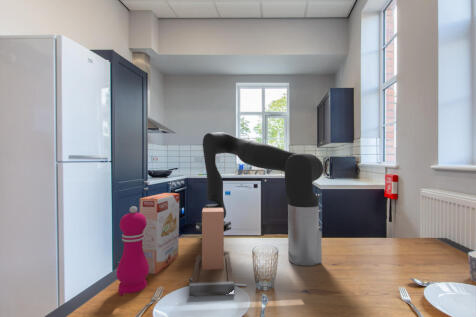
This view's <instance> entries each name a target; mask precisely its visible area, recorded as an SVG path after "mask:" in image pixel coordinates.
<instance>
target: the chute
mask: <svg viewBox="0 0 476 317" xmlns="http://www.w3.org/2000/svg"><path fill="white" fill-rule="evenodd" d="M224 255H225V256H224V269H210V270H202V254H201V255H200V254H197V255H196V256H195V258H196V259H195V263H194V268H193V273H192V277H191V282H189V286H188V288H189V296H193V297H194V298H195V297H197V298H198V297H215V296H216V297H217V296H220V297H221V296H227V295H226V294H229V293H230V292H232V291H233V290H234V291H235V281H234V276H233V271H232V270H233V269H232V262H231V258H230V257H231V256H230V253H226V254H225V253H224ZM193 297H192V298H193Z"/></svg>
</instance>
